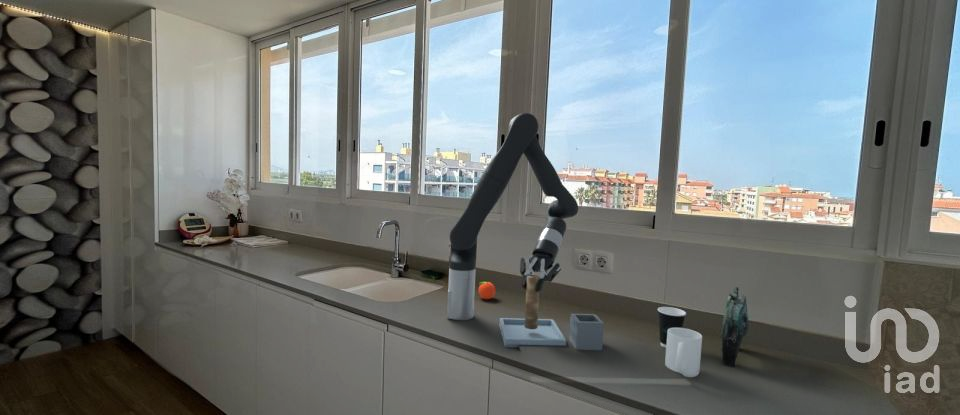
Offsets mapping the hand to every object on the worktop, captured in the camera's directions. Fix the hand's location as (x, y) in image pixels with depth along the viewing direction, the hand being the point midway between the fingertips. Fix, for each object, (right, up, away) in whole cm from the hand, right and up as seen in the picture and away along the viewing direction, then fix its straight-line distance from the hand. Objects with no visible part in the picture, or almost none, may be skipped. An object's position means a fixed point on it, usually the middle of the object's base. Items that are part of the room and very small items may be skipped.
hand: (530, 289), depth 128 cm
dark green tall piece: (+59, -19, -6) cm, 62 cm away
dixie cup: (+43, -18, 0) cm, 46 cm away
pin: (+1, -12, +3) cm, 13 cm away
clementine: (-13, -12, +41) cm, 45 cm away
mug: (+37, -19, -19) cm, 46 cm away
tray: (0, -15, +3) cm, 16 cm away
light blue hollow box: (+16, -17, -5) cm, 23 cm away
